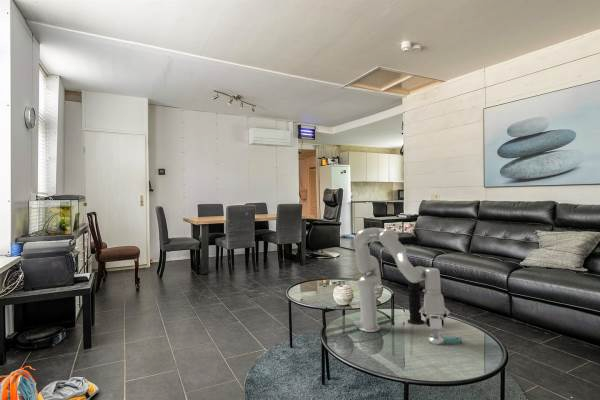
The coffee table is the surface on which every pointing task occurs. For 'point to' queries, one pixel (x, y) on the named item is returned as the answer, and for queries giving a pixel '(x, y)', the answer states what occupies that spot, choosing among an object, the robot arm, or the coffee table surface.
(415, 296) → the handle grip
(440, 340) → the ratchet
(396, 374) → the coffee table surface
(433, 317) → the hollow white cube
